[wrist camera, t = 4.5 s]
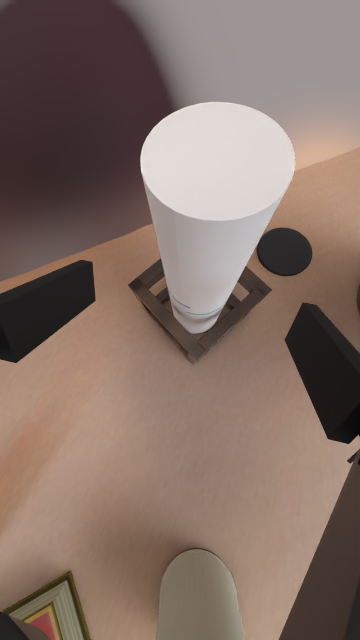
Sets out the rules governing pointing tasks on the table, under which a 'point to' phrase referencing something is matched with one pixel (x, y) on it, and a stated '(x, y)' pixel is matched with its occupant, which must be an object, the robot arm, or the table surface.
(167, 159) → the cylindrical container
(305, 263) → the coaster
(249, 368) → the table surface
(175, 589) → the can
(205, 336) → the rack
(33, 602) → the hardcover book
